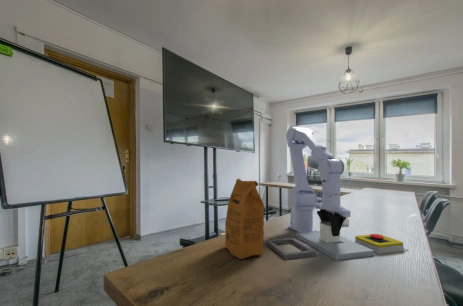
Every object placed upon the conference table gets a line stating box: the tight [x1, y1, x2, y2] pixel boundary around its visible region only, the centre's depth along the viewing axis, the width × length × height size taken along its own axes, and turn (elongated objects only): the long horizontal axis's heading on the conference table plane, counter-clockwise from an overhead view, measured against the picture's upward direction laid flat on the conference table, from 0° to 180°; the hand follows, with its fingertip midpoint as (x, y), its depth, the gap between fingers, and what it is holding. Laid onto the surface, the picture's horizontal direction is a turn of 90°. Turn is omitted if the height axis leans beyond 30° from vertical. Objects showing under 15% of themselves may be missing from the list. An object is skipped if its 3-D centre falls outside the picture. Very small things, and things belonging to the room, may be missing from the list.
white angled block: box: [333, 205, 350, 226], centre depth 101 cm, size 4×10×9 cm
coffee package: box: [224, 178, 265, 260], centre depth 67 cm, size 10×12×22 cm
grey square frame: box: [265, 237, 317, 260], centre depth 68 cm, size 12×10×1 cm
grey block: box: [319, 221, 341, 244], centre depth 73 cm, size 4×5×6 cm
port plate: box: [295, 230, 375, 261], centre depth 73 cm, size 20×14×2 cm
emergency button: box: [354, 233, 409, 256], centre depth 72 cm, size 9×4×15 cm
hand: (331, 233), depth 73 cm, fingers closed on grey block, 3 cm apart
